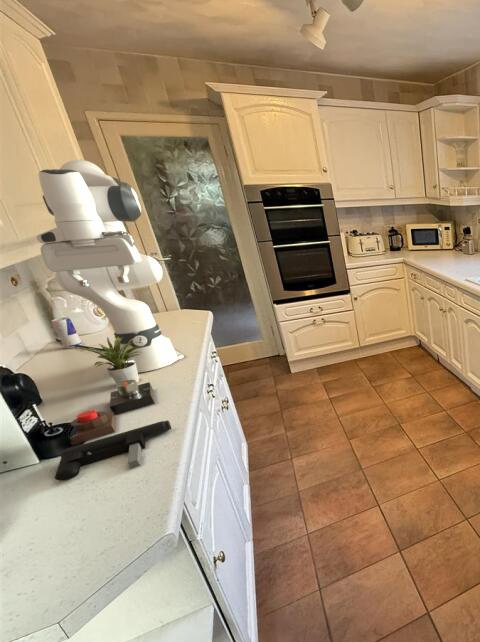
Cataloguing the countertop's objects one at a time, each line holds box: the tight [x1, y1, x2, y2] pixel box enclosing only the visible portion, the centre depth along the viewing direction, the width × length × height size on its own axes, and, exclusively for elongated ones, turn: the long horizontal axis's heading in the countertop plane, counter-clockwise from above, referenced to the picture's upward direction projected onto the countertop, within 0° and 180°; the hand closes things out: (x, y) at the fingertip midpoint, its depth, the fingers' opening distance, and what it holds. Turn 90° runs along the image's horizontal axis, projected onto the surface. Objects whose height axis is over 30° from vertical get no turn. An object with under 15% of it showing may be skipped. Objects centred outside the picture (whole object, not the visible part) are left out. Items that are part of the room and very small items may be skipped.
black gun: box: [54, 419, 172, 482], centre depth 93 cm, size 3×20×16 cm
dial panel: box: [109, 381, 156, 416], centre depth 118 cm, size 12×9×3 cm
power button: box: [76, 409, 99, 423], centre depth 103 cm, size 4×4×2 cm
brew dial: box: [115, 380, 140, 397], centre depth 116 cm, size 4×4×4 cm
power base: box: [70, 410, 117, 446], centre depth 104 cm, size 10×8×4 cm
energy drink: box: [51, 316, 83, 349], centre depth 163 cm, size 5×5×12 cm
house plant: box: [80, 336, 145, 385], centre depth 126 cm, size 14×14×16 cm
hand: (104, 284), depth 111 cm, fingers open, 8 cm apart
